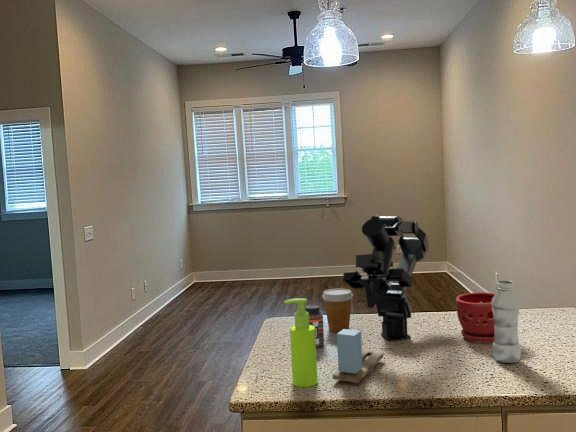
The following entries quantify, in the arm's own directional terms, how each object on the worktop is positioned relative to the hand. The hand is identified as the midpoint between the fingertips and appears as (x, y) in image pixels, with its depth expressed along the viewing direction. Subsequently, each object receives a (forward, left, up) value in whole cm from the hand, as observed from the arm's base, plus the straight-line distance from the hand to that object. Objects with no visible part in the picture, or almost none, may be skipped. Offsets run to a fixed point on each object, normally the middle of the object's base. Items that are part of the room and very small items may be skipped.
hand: (369, 307), depth 136 cm
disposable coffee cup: (-4, -26, -14) cm, 30 cm away
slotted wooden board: (+8, +7, -13) cm, 17 cm away
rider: (+12, +11, -12) cm, 20 cm away
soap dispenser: (+22, +7, -14) cm, 27 cm away
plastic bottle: (-28, +19, -14) cm, 36 cm away
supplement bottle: (+9, -16, -14) cm, 23 cm away
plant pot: (-35, +2, -14) cm, 37 cm away
